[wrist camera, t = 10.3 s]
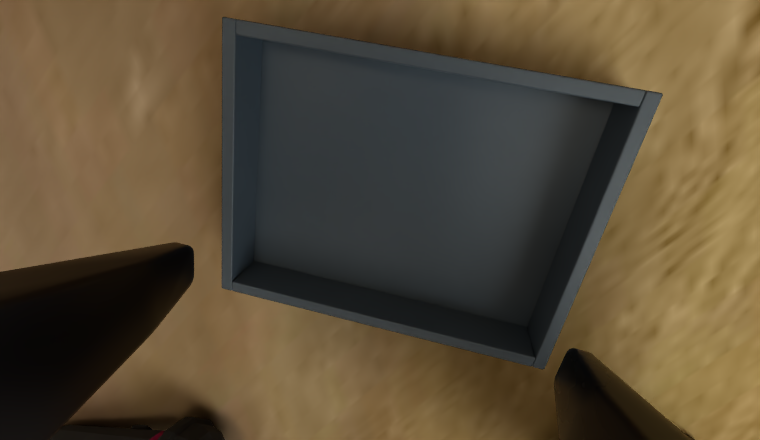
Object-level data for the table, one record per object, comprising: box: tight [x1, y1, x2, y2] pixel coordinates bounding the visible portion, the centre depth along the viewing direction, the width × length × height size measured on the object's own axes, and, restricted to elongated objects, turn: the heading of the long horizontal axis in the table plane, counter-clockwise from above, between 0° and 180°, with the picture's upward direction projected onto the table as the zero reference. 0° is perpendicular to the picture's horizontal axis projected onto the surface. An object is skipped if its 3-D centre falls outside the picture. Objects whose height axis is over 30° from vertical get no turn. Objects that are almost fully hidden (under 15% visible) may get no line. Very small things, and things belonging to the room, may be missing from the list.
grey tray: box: [222, 17, 663, 369], centre depth 19 cm, size 17×13×3 cm
